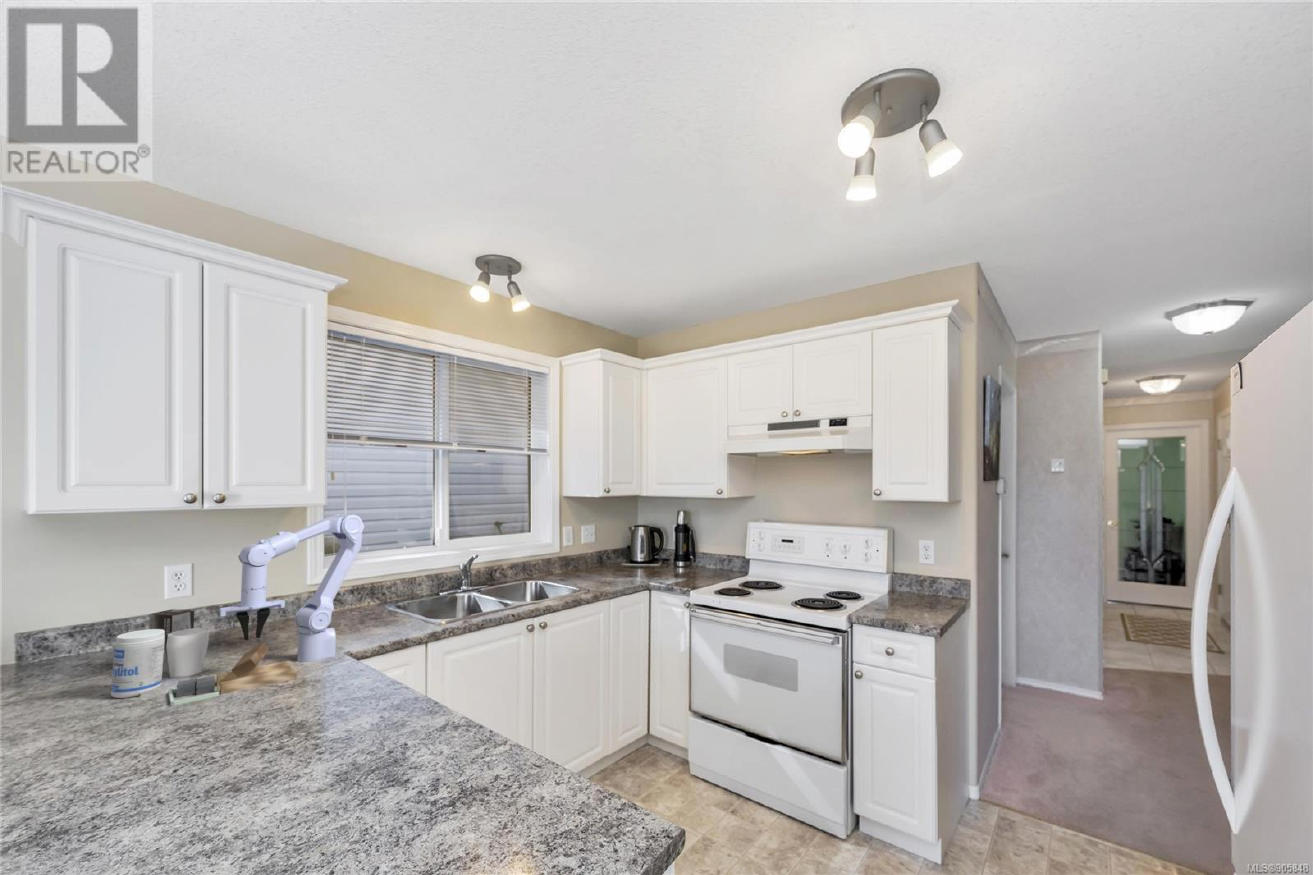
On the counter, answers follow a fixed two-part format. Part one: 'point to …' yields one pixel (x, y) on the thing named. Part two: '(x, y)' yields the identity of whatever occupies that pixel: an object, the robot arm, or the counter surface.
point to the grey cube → (205, 685)
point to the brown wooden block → (250, 660)
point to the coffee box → (171, 626)
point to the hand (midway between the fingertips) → (252, 638)
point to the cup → (187, 651)
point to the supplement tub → (137, 662)
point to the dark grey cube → (186, 687)
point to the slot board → (256, 677)
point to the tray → (188, 698)
